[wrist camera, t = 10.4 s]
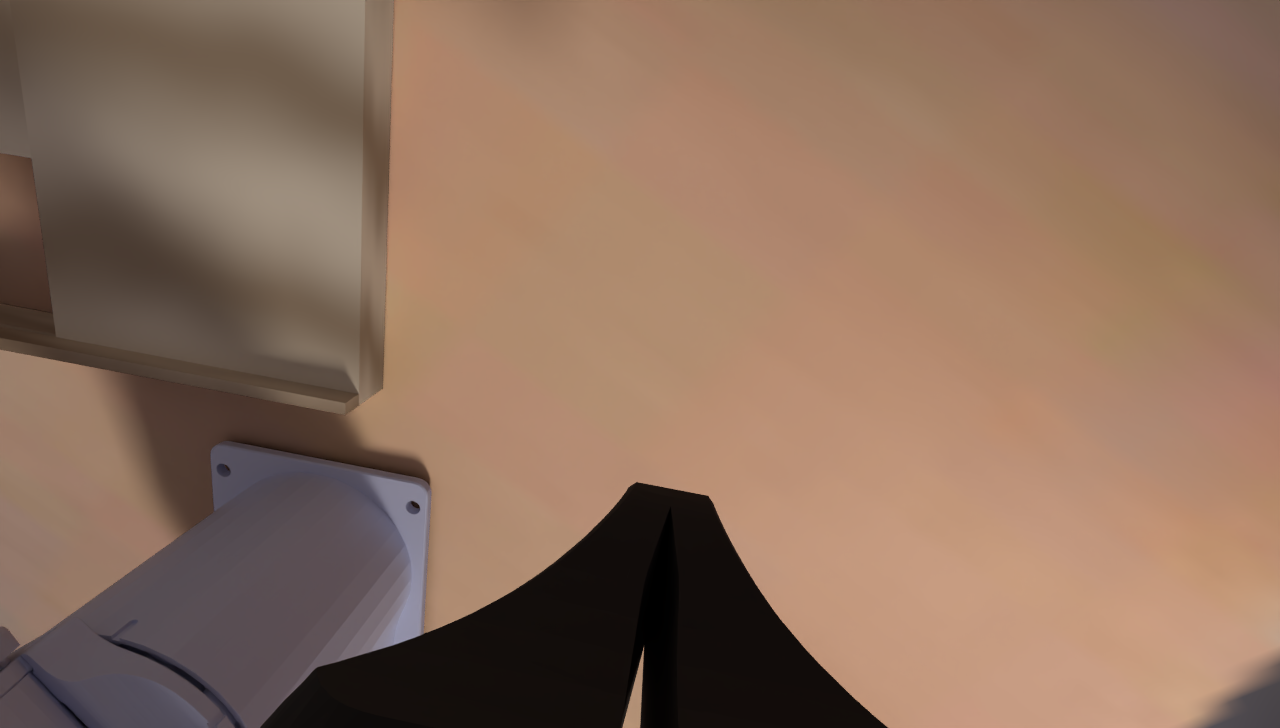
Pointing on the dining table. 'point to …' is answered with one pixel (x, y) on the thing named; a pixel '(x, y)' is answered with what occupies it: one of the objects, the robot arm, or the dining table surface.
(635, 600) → the robot arm
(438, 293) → the dining table surface
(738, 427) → the dining table surface
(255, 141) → the wooden tray
